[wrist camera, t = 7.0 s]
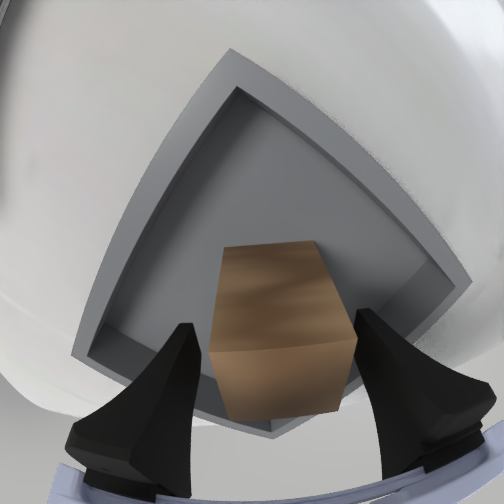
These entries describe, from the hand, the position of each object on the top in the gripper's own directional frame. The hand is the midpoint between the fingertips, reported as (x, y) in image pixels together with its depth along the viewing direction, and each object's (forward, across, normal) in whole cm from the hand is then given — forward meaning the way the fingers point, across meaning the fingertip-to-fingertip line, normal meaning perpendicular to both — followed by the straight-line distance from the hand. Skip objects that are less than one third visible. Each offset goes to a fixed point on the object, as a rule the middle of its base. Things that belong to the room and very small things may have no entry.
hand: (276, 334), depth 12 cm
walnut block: (+4, 0, 0) cm, 4 cm away
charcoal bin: (+5, +1, +1) cm, 5 cm away
